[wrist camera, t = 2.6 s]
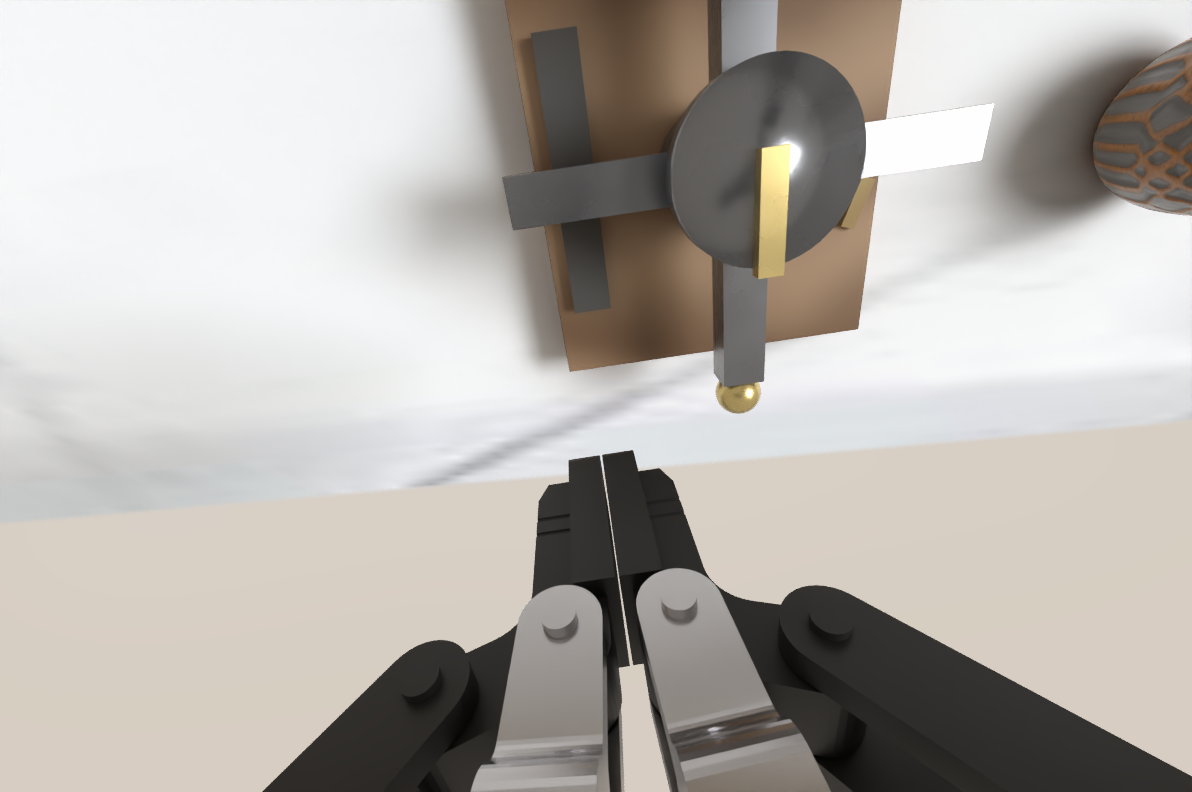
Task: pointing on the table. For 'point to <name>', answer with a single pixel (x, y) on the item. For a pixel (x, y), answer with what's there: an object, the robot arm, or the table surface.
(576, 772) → the robot arm
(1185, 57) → the vase
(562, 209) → the capstan
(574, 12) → the stand
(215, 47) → the table surface
